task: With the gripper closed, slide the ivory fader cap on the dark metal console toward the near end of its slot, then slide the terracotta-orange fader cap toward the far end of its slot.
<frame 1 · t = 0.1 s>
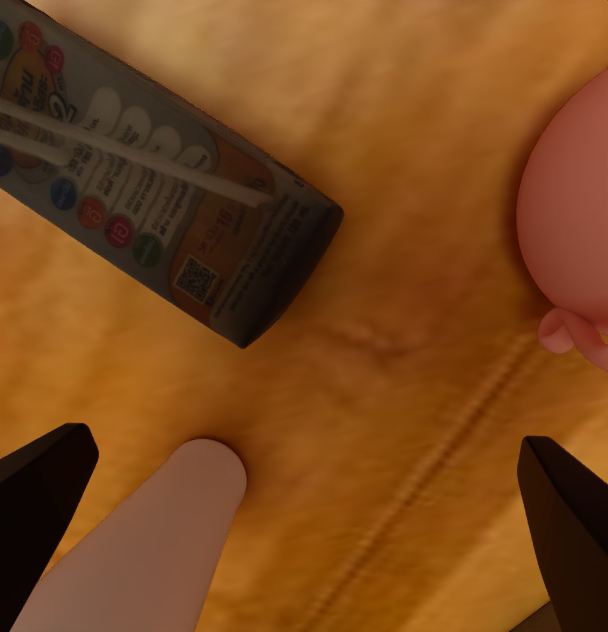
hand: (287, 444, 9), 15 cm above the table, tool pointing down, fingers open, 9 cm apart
drinking glass: (211, 469, 28), on the table
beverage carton: (173, 179, 24), on the table
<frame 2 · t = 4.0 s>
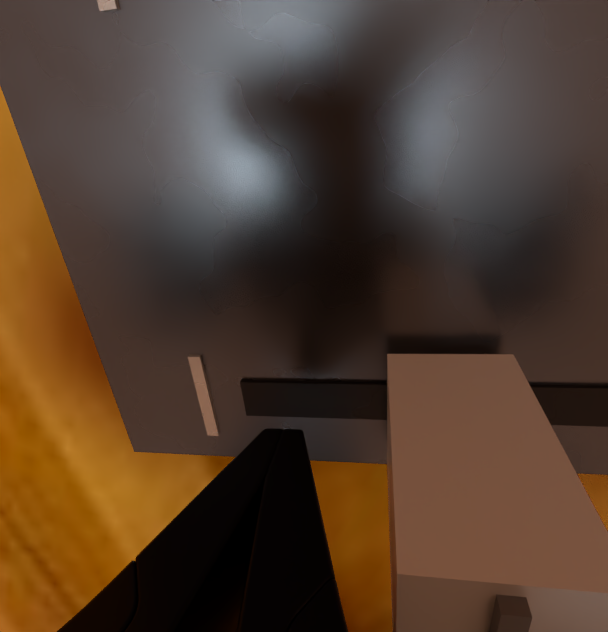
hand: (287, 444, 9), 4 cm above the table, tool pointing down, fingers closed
white fader: (464, 506, 7), point 5 cm above the table, slide at 4.9 cm, touching gripper
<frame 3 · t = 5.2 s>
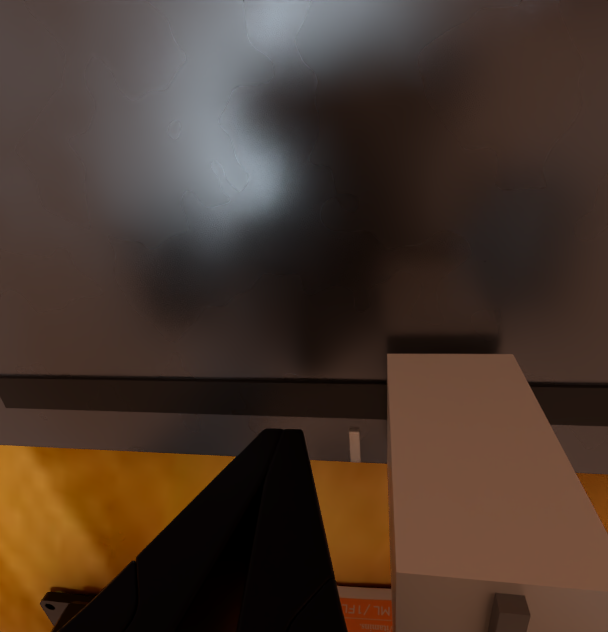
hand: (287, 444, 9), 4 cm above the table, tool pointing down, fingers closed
console: (348, 159, 9), on the table
skincare box: (367, 606, 17), on the table
white fader: (463, 506, 7), point 5 cm above the table, slide at -2.0 cm, touching gripper
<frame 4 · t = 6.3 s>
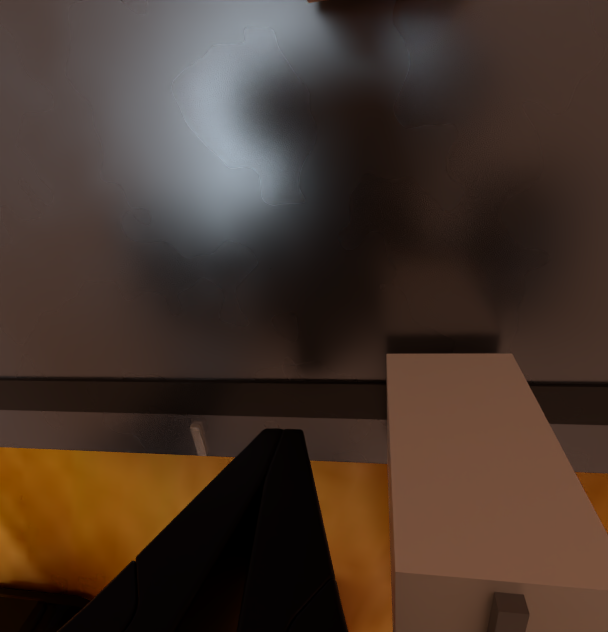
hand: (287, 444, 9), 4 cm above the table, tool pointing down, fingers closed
console: (174, 174, 10), on the table
white fader: (463, 505, 7), point 5 cm above the table, slide at -6.1 cm, touching gripper
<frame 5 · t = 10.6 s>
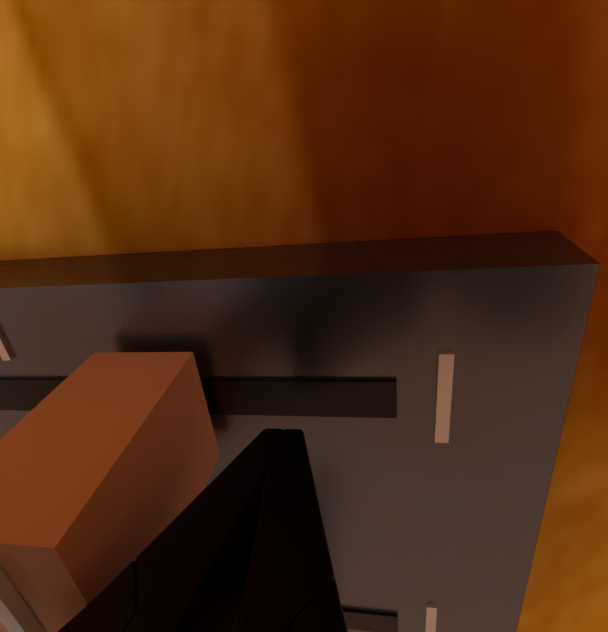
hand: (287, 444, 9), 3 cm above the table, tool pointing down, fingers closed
console: (115, 449, 15), on the table
orange fader: (104, 486, 8), point 5 cm above the table, slide at -4.0 cm, touching gripper
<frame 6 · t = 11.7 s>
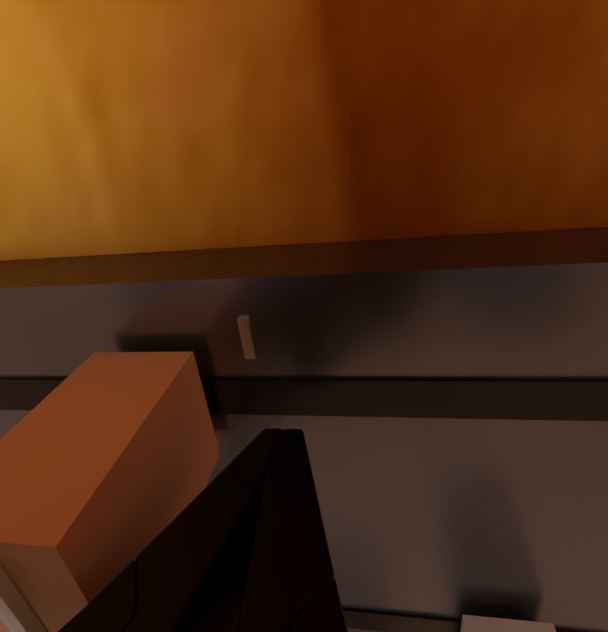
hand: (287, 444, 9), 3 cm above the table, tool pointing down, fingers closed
console: (293, 456, 14), on the table
orange fader: (104, 485, 8), point 5 cm above the table, slide at 2.4 cm, touching gripper
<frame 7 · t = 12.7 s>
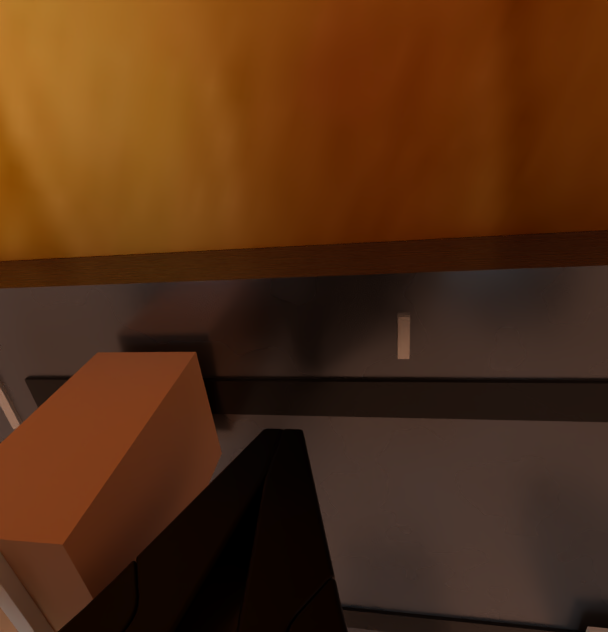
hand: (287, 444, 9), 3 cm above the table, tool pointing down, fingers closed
console: (398, 460, 13), on the table
orange fader: (108, 484, 8), point 5 cm above the table, slide at 5.6 cm, touching gripper
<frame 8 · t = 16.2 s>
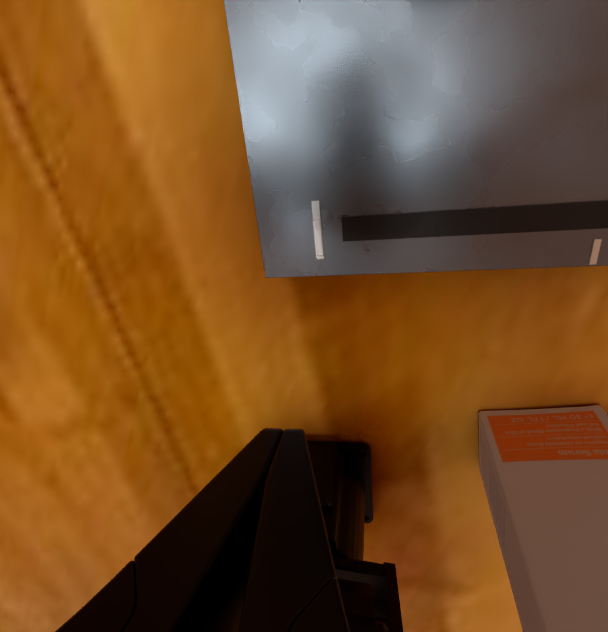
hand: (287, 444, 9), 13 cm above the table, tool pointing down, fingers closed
console: (607, 59, 15), on the table
skincare box: (532, 432, 23), on the table
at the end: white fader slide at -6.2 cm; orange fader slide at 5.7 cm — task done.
